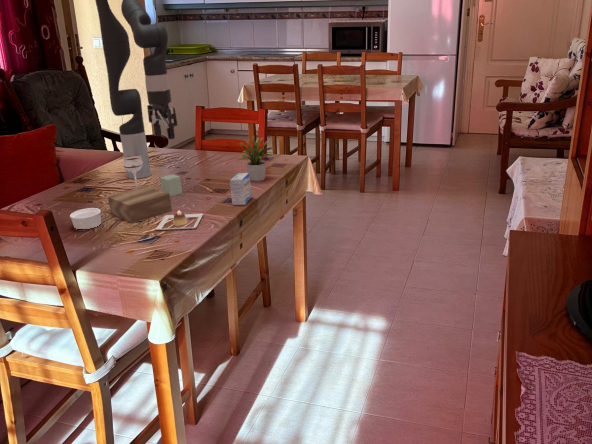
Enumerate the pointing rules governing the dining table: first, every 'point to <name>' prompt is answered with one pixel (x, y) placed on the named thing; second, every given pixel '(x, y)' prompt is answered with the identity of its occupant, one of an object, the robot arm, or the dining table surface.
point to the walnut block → (139, 204)
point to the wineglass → (133, 165)
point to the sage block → (171, 184)
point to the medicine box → (240, 189)
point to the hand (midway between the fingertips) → (164, 137)
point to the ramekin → (86, 218)
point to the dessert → (179, 220)
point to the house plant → (256, 160)
